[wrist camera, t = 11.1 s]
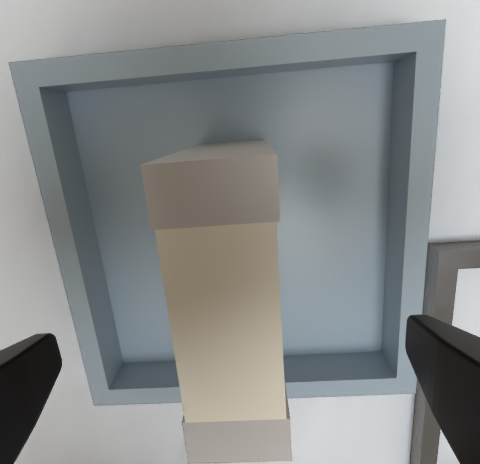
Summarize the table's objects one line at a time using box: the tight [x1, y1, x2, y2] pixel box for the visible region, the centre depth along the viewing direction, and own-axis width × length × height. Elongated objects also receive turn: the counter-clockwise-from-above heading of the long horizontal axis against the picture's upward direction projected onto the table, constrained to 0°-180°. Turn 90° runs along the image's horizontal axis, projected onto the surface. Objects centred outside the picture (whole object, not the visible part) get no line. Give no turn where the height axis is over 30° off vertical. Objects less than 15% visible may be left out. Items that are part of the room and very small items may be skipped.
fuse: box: [140, 139, 292, 464], centre depth 14 cm, size 3×9×9 cm, turn 5°
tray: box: [8, 19, 446, 406], centre depth 17 cm, size 17×17×3 cm
